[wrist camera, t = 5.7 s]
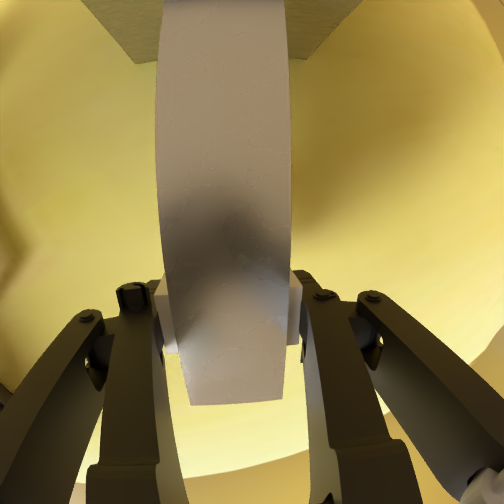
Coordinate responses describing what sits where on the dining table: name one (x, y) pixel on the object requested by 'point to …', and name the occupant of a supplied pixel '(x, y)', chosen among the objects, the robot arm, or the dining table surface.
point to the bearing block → (151, 10)
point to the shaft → (225, 193)
